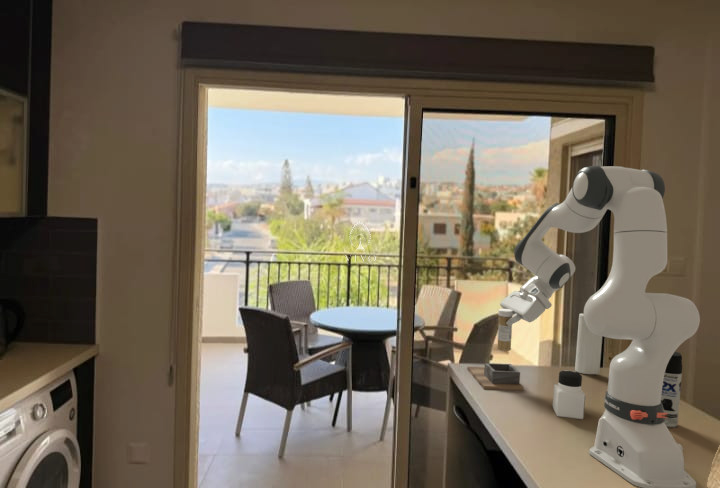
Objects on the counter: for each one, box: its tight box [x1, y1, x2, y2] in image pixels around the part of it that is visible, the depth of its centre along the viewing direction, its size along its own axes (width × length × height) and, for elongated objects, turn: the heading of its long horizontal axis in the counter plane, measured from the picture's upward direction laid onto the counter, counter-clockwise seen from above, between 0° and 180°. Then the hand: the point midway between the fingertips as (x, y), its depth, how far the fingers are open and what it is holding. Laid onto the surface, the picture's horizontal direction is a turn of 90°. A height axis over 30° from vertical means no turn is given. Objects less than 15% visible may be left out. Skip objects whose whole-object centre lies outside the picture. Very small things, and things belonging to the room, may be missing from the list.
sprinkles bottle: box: [496, 308, 514, 352], centre depth 167 cm, size 5×5×14 cm
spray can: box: [661, 351, 683, 429], centre depth 140 cm, size 7×7×20 cm
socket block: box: [466, 362, 525, 391], centre depth 171 cm, size 20×13×5 cm, turn 3°
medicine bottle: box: [552, 369, 586, 420], centre depth 143 cm, size 7×7×12 cm
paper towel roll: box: [574, 313, 603, 375], centre depth 183 cm, size 7×6×21 cm
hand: (503, 322), depth 167 cm, fingers closed on sprinkles bottle, 4 cm apart
